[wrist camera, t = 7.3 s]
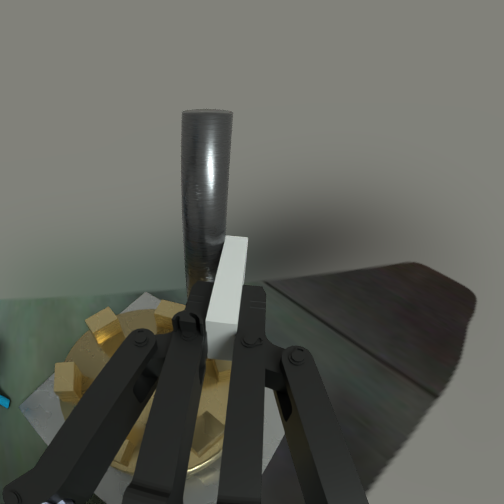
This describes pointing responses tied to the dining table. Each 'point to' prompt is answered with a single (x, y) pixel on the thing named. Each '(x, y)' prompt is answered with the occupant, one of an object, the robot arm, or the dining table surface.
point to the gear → (4, 401)
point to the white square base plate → (115, 482)
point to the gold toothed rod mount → (159, 320)
